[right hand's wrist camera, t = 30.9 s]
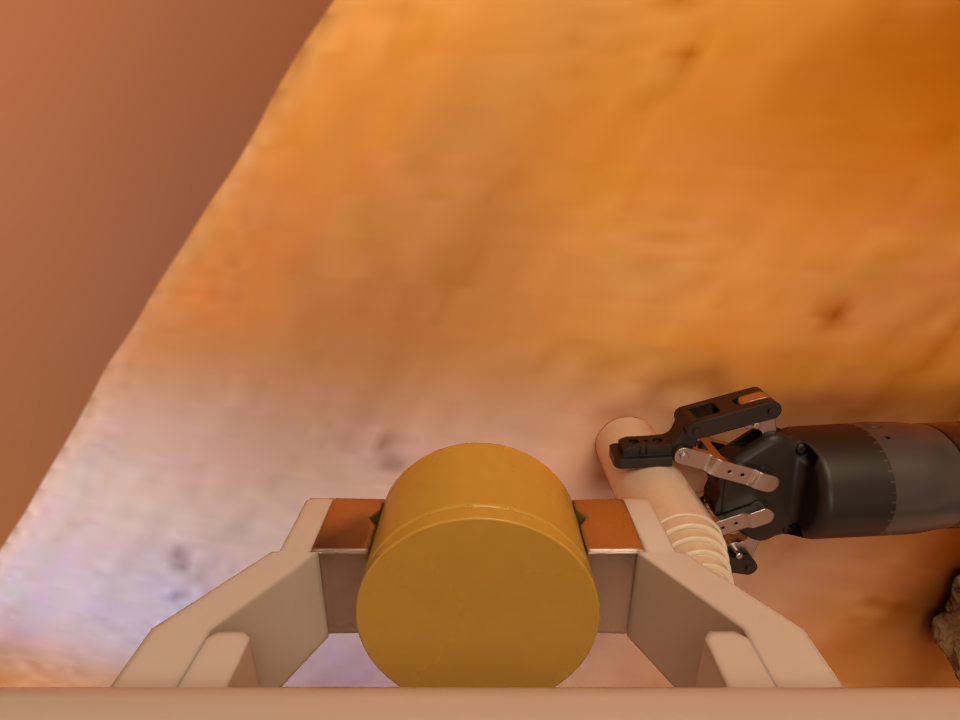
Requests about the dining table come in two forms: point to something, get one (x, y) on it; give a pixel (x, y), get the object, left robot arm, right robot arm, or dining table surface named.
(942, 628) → the rock
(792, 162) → the dining table surface
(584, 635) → the cap
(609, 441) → the bottle
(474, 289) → the dining table surface
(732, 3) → the dining table surface
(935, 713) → the right robot arm
